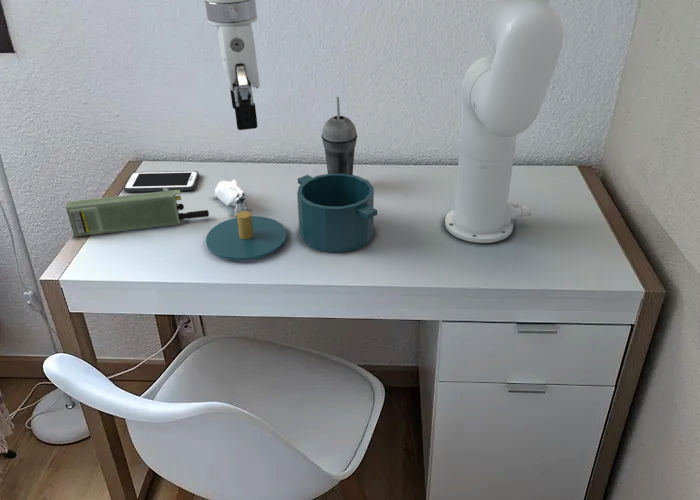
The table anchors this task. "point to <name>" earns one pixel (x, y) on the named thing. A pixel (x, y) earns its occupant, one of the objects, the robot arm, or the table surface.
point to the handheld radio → (127, 213)
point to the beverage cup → (339, 143)
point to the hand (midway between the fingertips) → (244, 117)
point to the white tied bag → (231, 195)
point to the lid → (246, 237)
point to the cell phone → (161, 181)
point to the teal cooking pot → (335, 212)
